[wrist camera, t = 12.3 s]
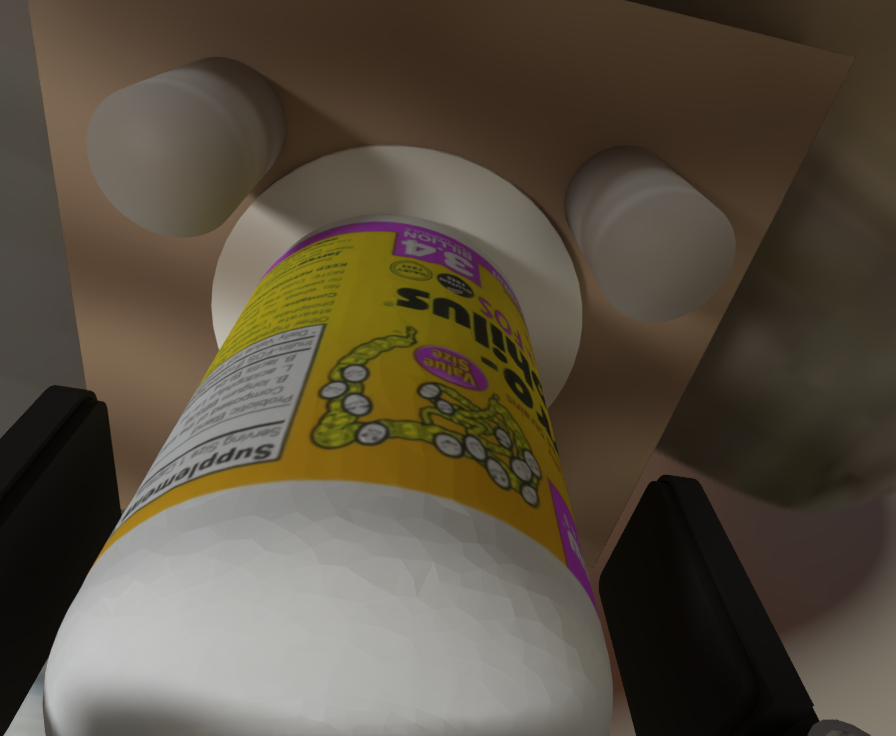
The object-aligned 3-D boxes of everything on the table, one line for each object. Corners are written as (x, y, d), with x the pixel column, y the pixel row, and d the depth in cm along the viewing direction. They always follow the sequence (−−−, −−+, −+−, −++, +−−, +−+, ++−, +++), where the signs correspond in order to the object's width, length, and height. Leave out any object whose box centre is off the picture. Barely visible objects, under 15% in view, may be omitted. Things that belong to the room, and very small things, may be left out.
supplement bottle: (568, 367, 16) (848, 1210, 5) (362, 468, 18) (247, 1245, 7) (430, 141, 13) (393, 1122, 2) (196, 294, 14) (-496, 1228, 4)
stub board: (65, -136, 12) (-171, -203, 7) (805, 46, 14) (988, 85, 9) (131, 463, 20) (43, 606, 16) (581, 523, 22) (619, 666, 18)
